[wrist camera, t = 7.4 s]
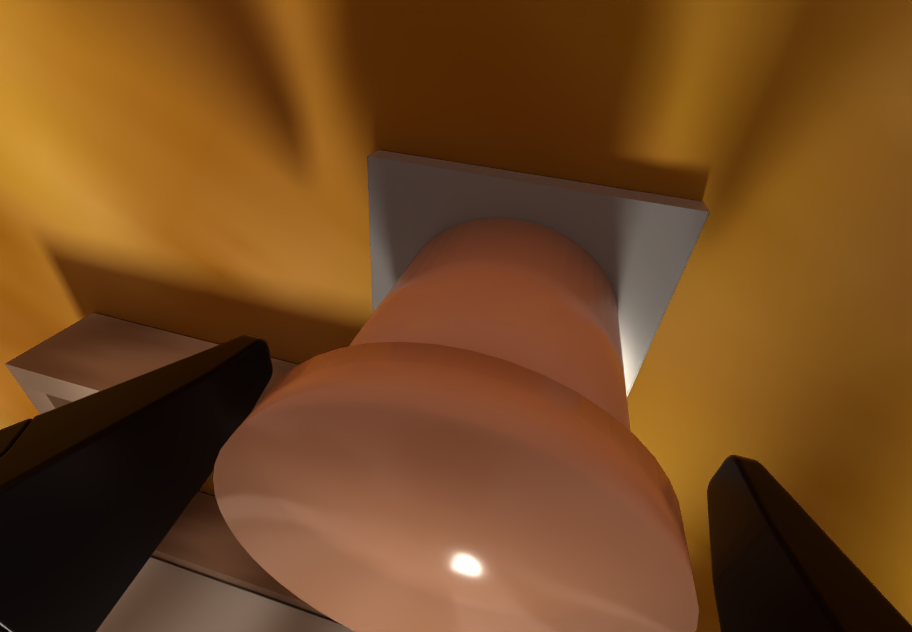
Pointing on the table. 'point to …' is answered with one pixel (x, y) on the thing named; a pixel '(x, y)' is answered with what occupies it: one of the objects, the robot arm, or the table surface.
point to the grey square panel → (546, 203)
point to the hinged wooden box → (201, 524)
